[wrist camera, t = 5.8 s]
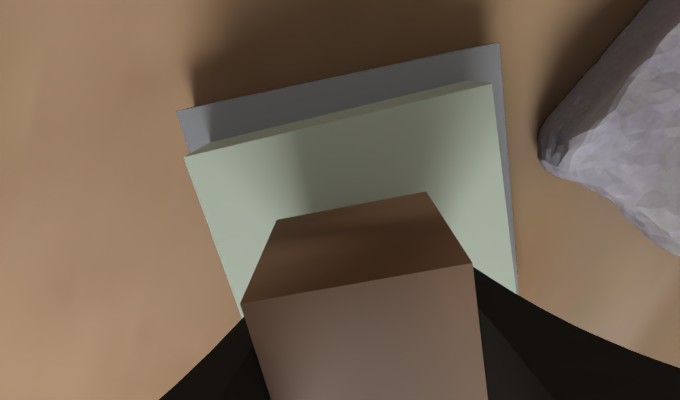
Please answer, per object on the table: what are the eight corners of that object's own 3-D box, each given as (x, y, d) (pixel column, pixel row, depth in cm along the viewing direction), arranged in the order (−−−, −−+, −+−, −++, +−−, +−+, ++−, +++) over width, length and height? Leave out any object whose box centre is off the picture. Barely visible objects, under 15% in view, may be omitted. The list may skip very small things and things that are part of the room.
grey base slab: (270, 332, 20) (259, 369, 17) (200, 104, 16) (176, 111, 14) (498, 293, 19) (520, 326, 16) (475, 46, 16) (499, 42, 13)
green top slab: (280, 350, 17) (270, 396, 15) (210, 142, 14) (183, 157, 12) (497, 308, 16) (523, 350, 14) (466, 80, 14) (491, 83, 11)
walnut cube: (310, 342, 12) (294, 471, 8) (276, 219, 11) (239, 303, 7) (444, 321, 12) (492, 443, 8) (426, 191, 10) (472, 262, 7)
